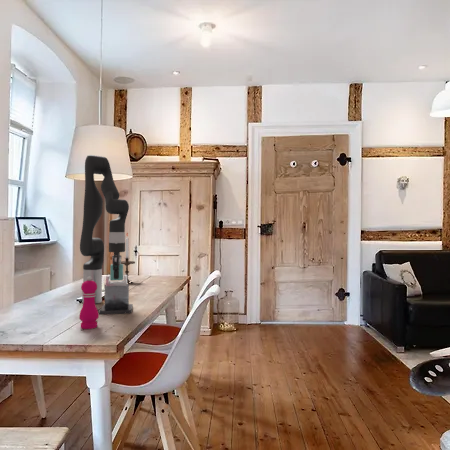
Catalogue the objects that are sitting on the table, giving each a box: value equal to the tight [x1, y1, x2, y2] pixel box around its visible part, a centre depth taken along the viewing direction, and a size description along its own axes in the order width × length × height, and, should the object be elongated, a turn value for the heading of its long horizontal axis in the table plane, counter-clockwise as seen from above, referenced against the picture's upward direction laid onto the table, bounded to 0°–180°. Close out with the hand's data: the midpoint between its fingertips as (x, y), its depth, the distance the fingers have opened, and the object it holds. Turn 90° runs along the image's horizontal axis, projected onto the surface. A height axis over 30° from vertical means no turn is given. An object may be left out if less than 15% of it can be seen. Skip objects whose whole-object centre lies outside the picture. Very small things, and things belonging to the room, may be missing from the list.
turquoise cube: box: [109, 263, 124, 281], centre depth 195 cm, size 6×5×7 cm
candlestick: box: [121, 232, 136, 283], centre depth 284 cm, size 11×11×35 cm
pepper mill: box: [79, 276, 100, 330], centre depth 164 cm, size 7×7×20 cm
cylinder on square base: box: [98, 274, 134, 315], centre depth 195 cm, size 14×14×16 cm
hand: (116, 277), depth 195 cm, fingers closed on turquoise cube, 5 cm apart
